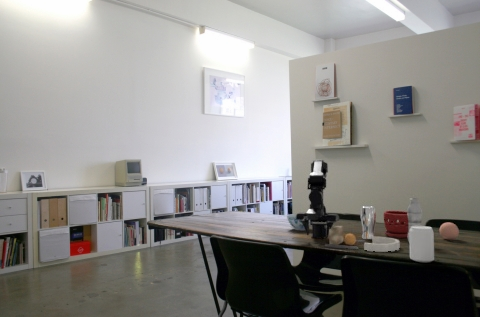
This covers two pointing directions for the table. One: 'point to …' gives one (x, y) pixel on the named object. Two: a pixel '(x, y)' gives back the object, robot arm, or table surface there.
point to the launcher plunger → (336, 235)
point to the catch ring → (382, 244)
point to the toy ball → (449, 231)
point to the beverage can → (421, 243)
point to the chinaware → (295, 222)
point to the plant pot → (396, 224)
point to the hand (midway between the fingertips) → (317, 235)
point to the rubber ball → (350, 239)
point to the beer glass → (368, 221)
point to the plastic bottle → (414, 214)
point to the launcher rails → (345, 246)
